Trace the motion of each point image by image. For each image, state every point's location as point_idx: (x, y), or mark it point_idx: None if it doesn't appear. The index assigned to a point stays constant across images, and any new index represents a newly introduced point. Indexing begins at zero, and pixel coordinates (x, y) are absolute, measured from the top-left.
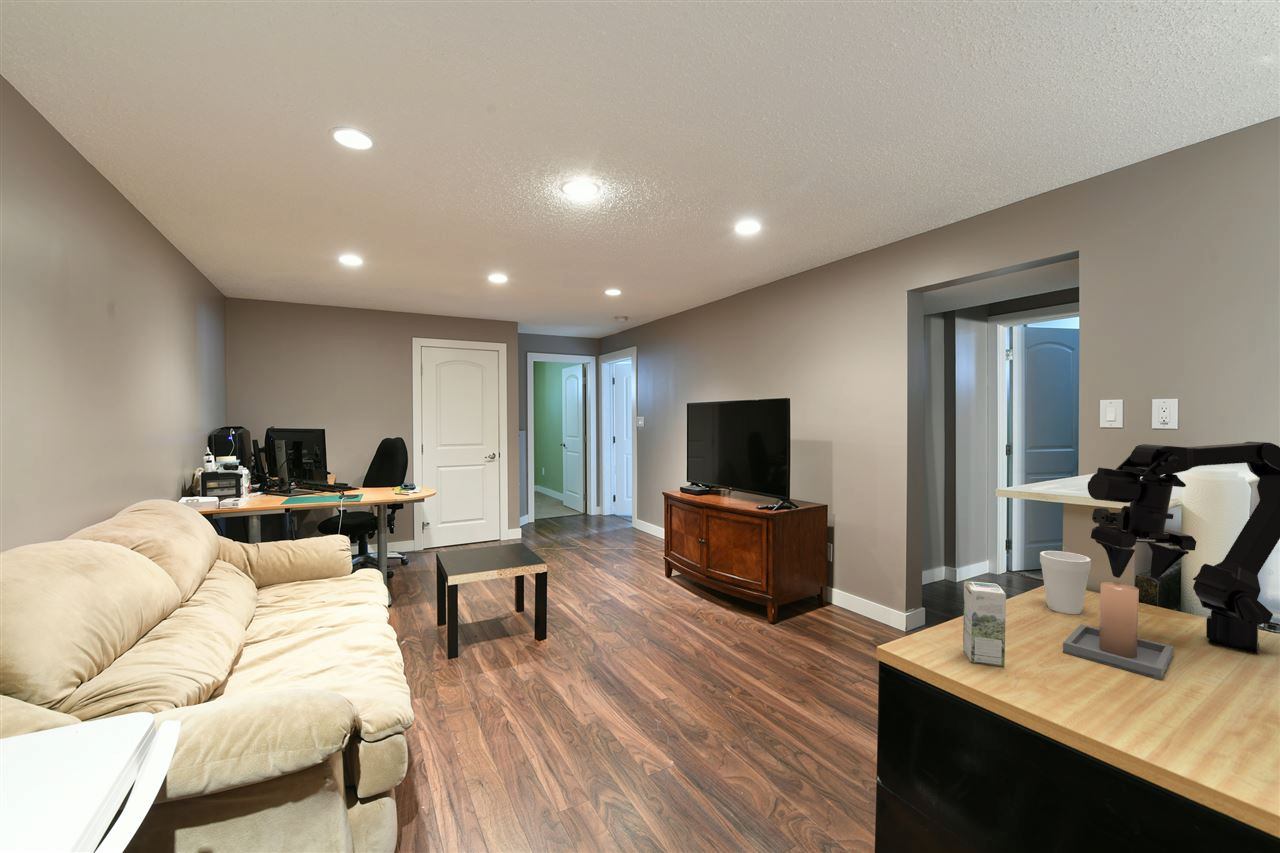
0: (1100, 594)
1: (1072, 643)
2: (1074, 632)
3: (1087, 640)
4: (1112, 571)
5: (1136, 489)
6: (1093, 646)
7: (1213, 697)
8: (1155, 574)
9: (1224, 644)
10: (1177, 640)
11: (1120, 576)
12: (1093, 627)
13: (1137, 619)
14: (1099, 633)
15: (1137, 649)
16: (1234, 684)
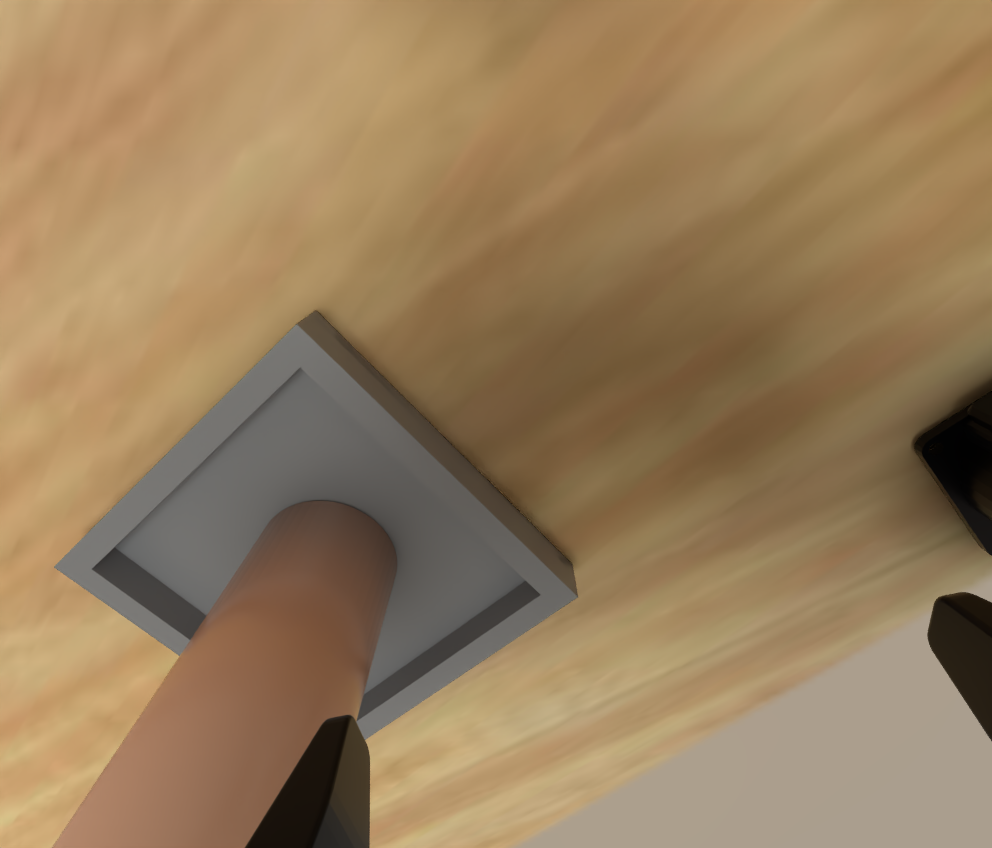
0: (83, 800)
1: (96, 576)
2: (178, 451)
3: (259, 450)
4: (291, 783)
5: None
6: (246, 514)
7: (421, 798)
8: (976, 680)
9: (957, 478)
10: (797, 393)
11: (368, 781)
12: (339, 378)
13: None
14: (238, 568)
15: (441, 539)
16: (579, 739)
